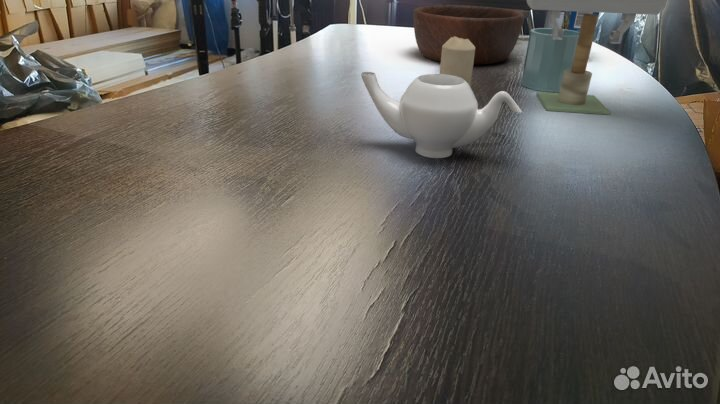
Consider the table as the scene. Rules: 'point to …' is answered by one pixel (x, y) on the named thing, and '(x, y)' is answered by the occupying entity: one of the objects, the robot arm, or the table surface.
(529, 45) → the cup
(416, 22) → the wooden bowl
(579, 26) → the blue food package
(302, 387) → the table surface
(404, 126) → the teapot
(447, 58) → the candle
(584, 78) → the brush
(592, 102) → the mat
